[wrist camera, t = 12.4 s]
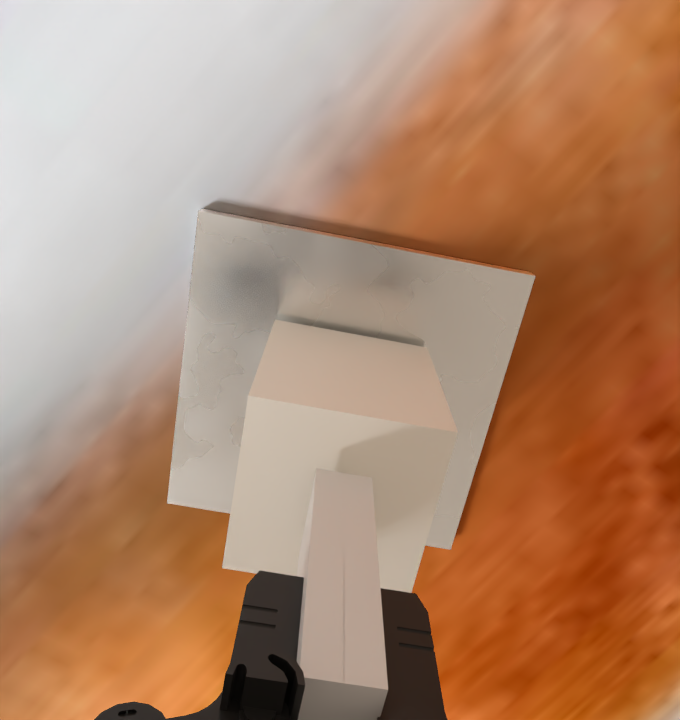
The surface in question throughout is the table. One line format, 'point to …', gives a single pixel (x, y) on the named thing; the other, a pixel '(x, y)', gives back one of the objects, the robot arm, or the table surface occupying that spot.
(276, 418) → the cream cube
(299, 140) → the table surface
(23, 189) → the table surface
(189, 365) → the square grey base plate
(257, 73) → the table surface
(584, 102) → the table surface
